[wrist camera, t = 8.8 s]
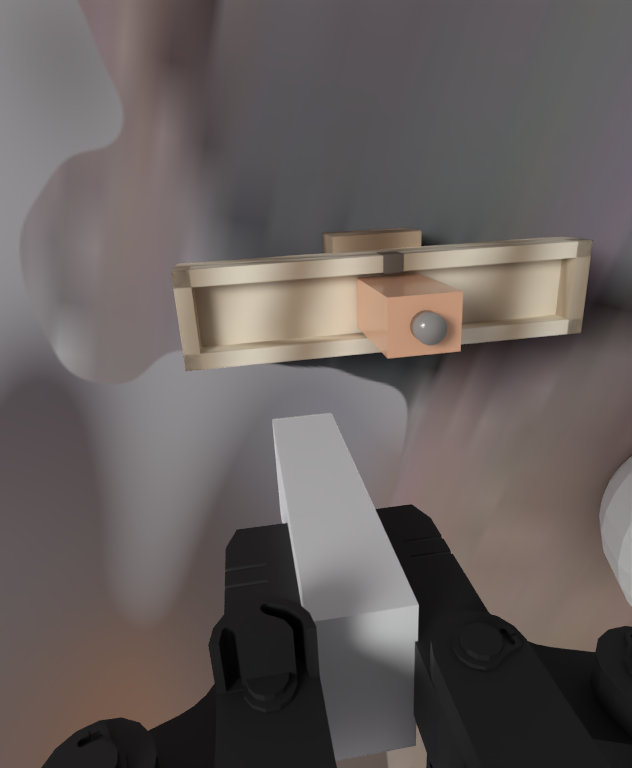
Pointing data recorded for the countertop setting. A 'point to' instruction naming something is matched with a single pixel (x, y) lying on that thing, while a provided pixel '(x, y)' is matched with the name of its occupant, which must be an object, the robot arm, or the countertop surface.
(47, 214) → the countertop surface
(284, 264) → the beam
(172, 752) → the robot arm
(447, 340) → the block
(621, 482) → the vase
